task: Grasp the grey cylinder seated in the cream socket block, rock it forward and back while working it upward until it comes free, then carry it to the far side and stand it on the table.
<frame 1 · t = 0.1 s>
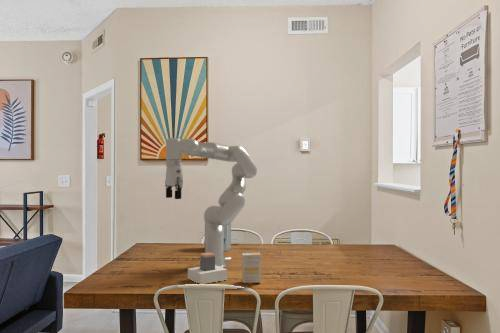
hand: (173, 198, 198), 37 cm above the table, tool pointing down, fingers open, 9 cm apart
grey cylinder: (207, 266, 186), in the socket block
socket block: (207, 279, 186), on the table
supplement box: (251, 282, 183), on the table
hard drive box: (217, 249, 257), on the table
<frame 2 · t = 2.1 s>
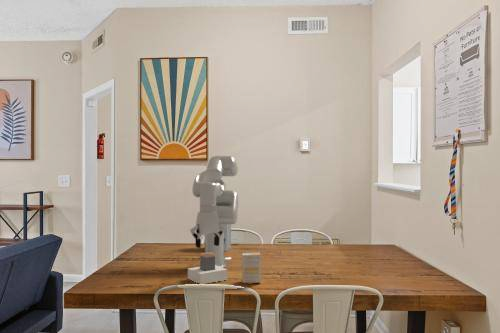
hand: (207, 246, 186), 15 cm above the table, tool pointing down, fingers open, 9 cm apart
nothing on the table moved.
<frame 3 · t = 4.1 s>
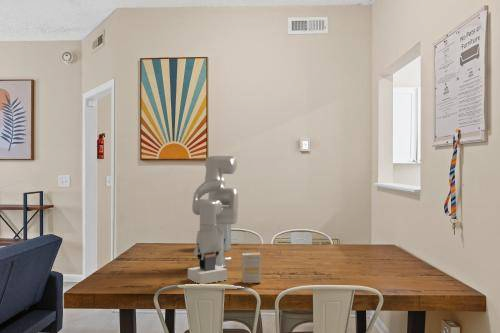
hand: (207, 266, 186), 6 cm above the table, tool pointing down, fingers closed on grey cylinder, 5 cm apart
grey cylinder: (207, 266, 186), in the socket block, touching gripper
everything else where it was.
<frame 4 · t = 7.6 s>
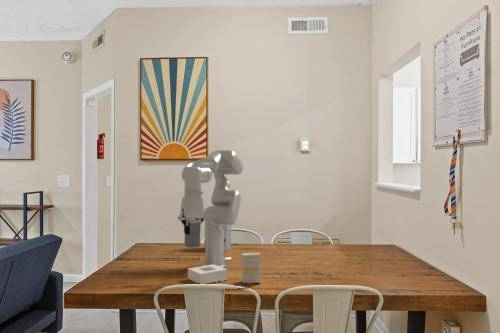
hand: (192, 233, 184), 22 cm above the table, tool pointing down, fingers closed on grey cylinder, 5 cm apart
grey cylinder: (192, 233, 184), point 22 cm above the table, touching gripper
everything else where it was.
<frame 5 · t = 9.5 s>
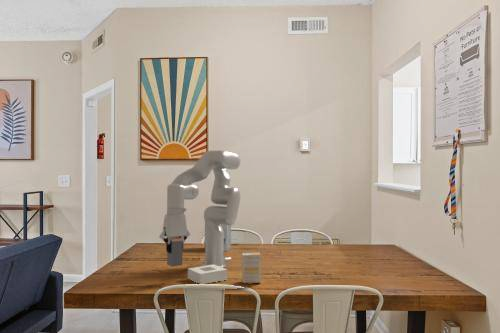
hand: (174, 251, 182), 14 cm above the table, tool pointing down, fingers closed on grey cylinder, 5 cm apart
grey cylinder: (174, 251, 182), point 14 cm above the table, touching gripper
everything else where it was.
when the fingers open (7 cm above the table, at t = 11.1 s): grey cylinder drops 1 cm, on the table.
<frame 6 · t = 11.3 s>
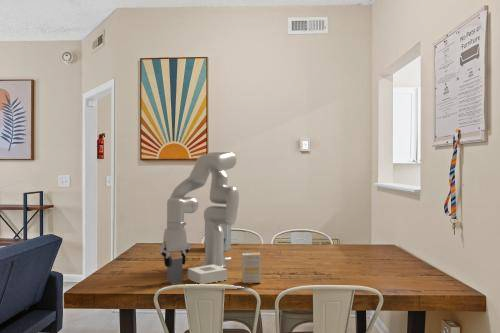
hand: (175, 264, 182), 8 cm above the table, tool pointing down, fingers open, 7 cm apart
grey cylinder: (174, 268, 182), on the table
everything else where it was.
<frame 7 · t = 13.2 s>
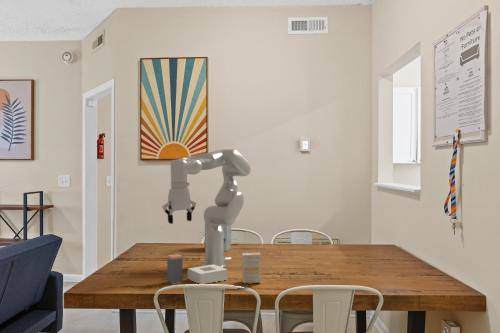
hand: (180, 222, 190), 26 cm above the table, tool pointing down, fingers open, 9 cm apart
nothing on the table moved.
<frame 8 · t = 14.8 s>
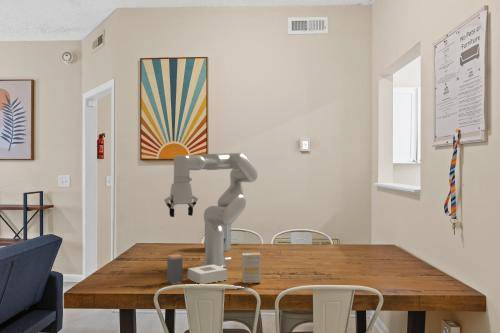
hand: (181, 216, 195), 28 cm above the table, tool pointing down, fingers open, 9 cm apart
nothing on the table moved.
at the end: grey cylinder inside the target area (0.1 cm from its centre), on the table; grey cylinder tilted 0°; the gripper is holding nothing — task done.
